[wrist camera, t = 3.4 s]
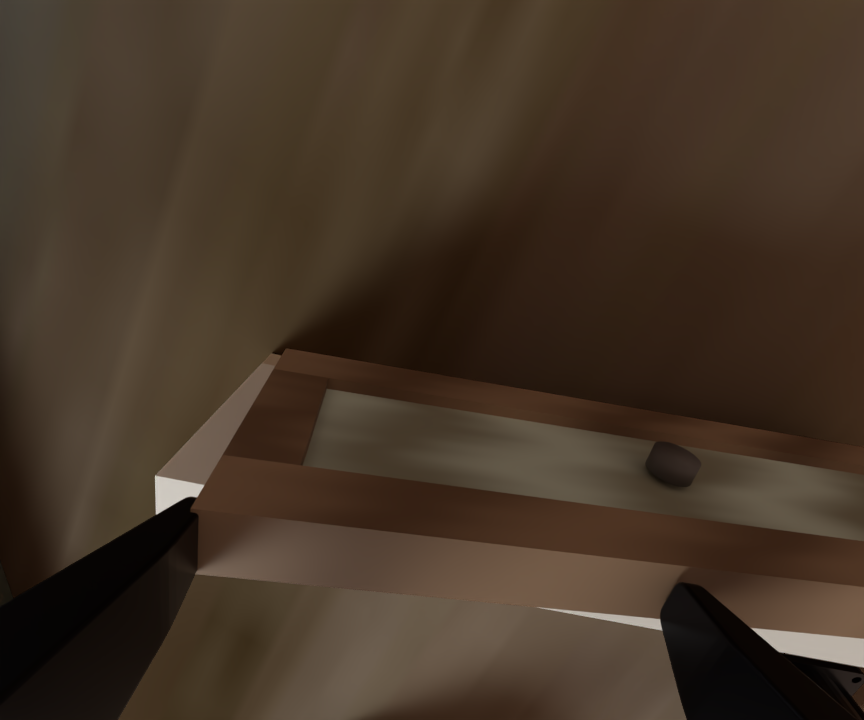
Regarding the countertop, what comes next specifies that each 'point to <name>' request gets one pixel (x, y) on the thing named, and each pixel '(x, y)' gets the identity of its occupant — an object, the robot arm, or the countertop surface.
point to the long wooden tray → (215, 435)
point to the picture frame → (530, 500)
